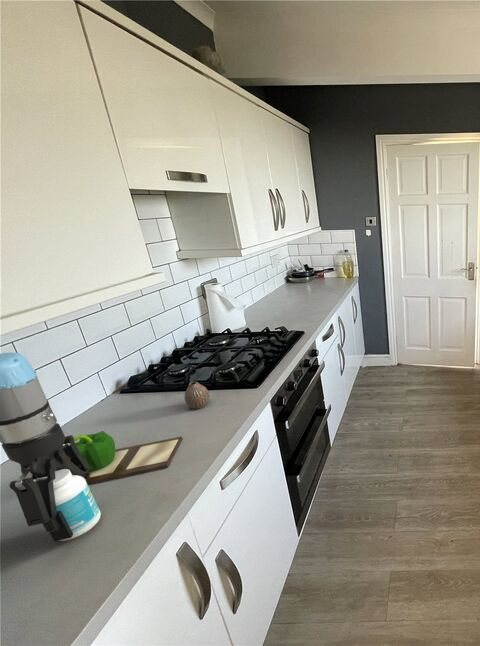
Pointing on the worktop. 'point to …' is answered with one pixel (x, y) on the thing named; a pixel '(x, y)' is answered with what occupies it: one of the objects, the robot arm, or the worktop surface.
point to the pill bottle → (75, 502)
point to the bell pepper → (96, 449)
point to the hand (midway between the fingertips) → (76, 520)
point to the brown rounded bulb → (196, 395)
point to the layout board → (137, 460)
